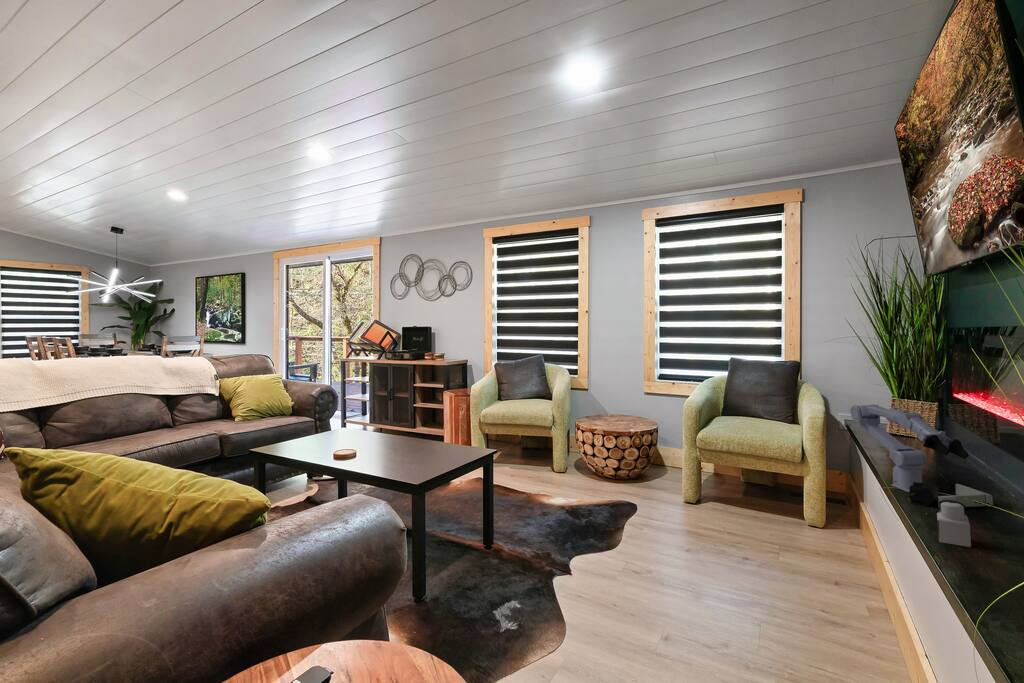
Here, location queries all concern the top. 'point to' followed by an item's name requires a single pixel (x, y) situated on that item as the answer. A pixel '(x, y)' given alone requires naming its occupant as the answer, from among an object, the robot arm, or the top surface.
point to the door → (970, 499)
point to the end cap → (923, 493)
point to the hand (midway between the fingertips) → (957, 454)
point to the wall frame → (966, 491)
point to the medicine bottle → (953, 523)
